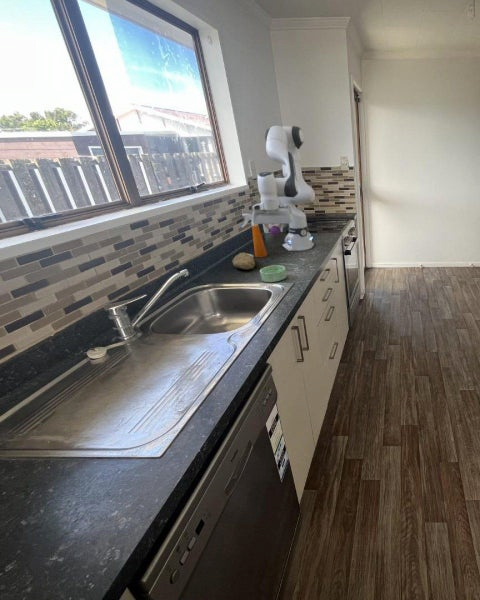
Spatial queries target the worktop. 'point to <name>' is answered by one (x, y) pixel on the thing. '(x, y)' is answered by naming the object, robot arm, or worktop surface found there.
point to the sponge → (244, 261)
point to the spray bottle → (256, 237)
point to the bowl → (273, 273)
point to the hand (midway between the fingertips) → (275, 232)
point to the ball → (274, 230)
